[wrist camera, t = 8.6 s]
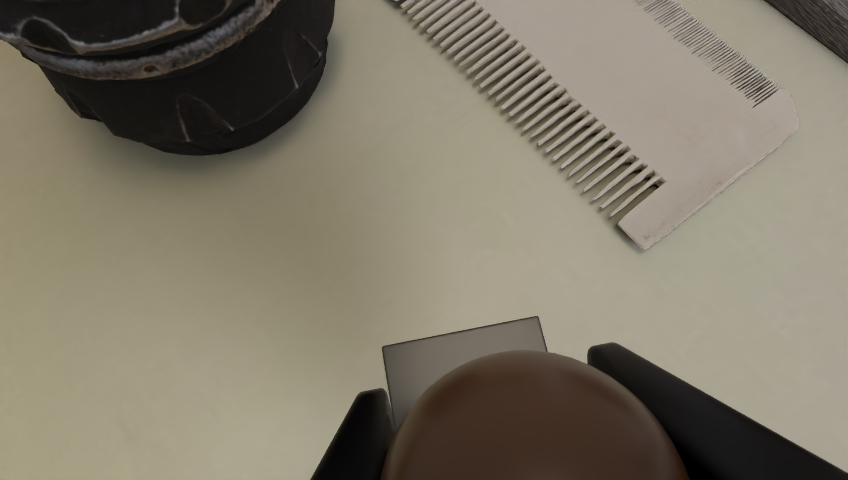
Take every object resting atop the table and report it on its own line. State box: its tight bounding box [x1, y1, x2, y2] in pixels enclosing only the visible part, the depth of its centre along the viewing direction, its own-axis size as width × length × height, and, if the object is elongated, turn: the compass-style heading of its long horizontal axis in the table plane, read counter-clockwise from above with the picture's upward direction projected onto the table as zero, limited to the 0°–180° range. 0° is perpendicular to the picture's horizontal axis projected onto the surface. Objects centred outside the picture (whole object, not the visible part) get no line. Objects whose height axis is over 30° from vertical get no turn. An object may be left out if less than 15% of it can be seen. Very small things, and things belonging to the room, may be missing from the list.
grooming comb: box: [394, 0, 800, 250], centre depth 24 cm, size 18×10×1 cm, turn 39°
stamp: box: [381, 316, 690, 480], centre depth 9 cm, size 6×4×10 cm, turn 11°
